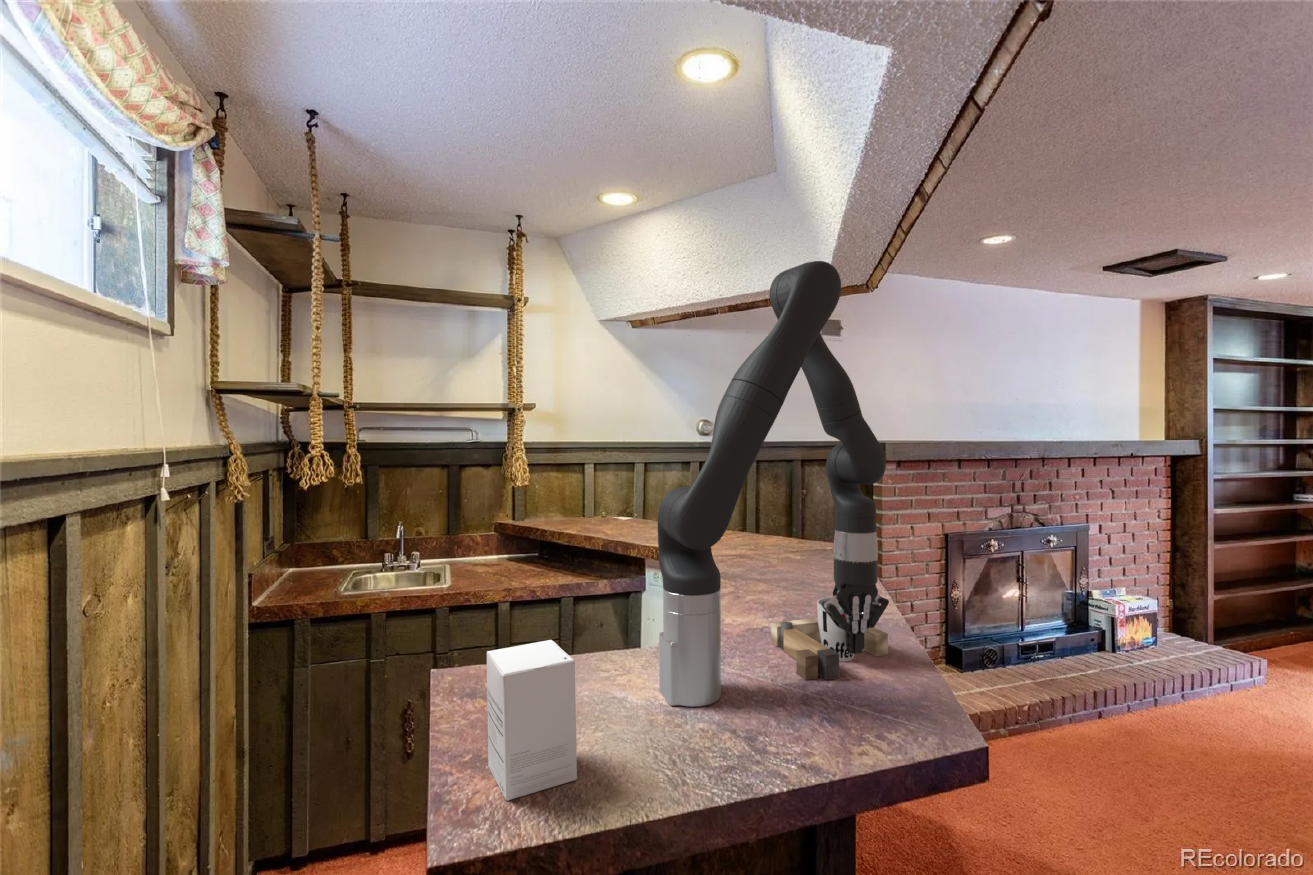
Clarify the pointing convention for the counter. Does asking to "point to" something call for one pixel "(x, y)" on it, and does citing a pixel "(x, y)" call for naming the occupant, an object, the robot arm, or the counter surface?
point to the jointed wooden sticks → (809, 660)
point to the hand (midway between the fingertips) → (855, 652)
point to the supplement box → (531, 718)
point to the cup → (832, 633)
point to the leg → (800, 641)
